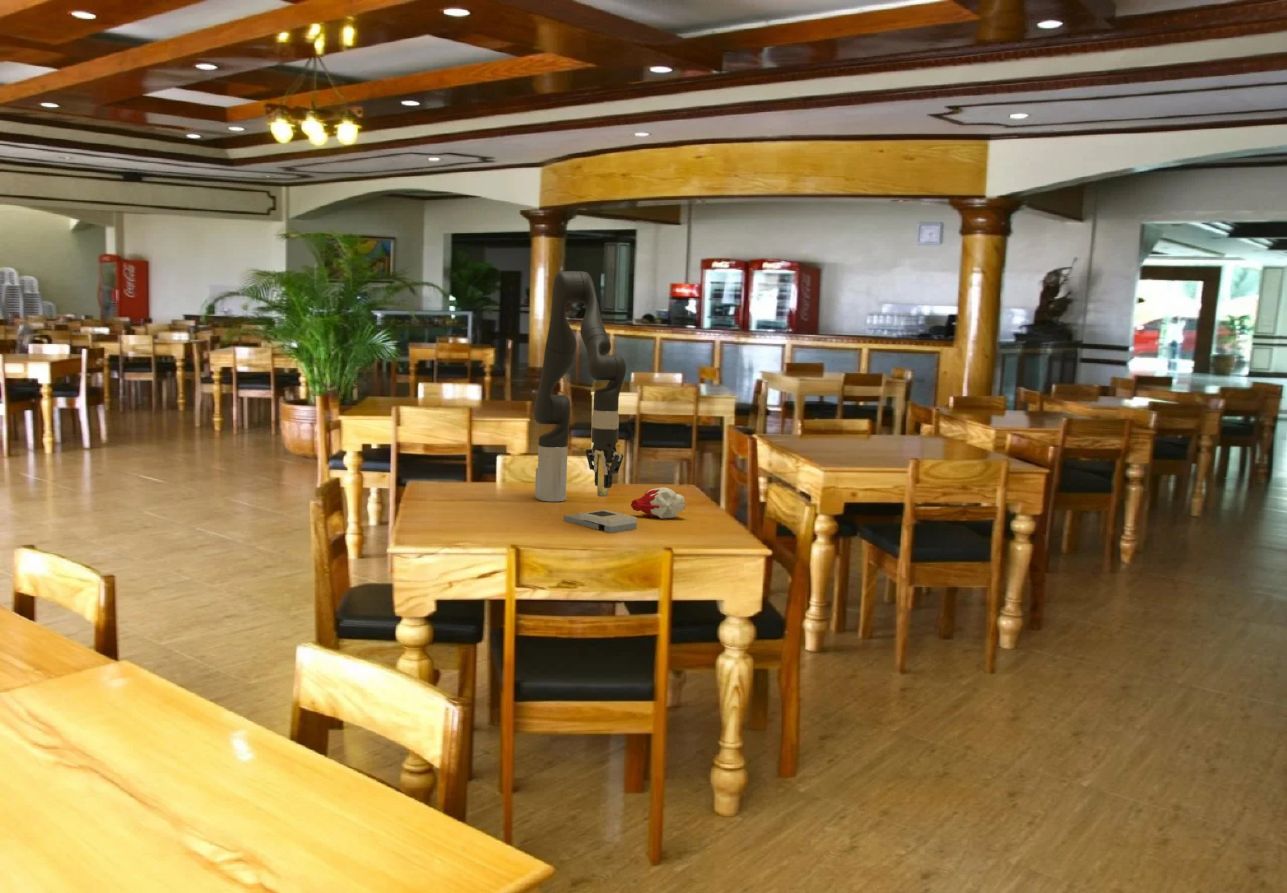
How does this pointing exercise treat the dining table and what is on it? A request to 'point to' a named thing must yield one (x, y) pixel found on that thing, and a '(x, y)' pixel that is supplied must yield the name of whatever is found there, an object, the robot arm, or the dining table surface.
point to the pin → (601, 478)
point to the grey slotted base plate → (603, 520)
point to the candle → (660, 503)
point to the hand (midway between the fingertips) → (603, 486)
